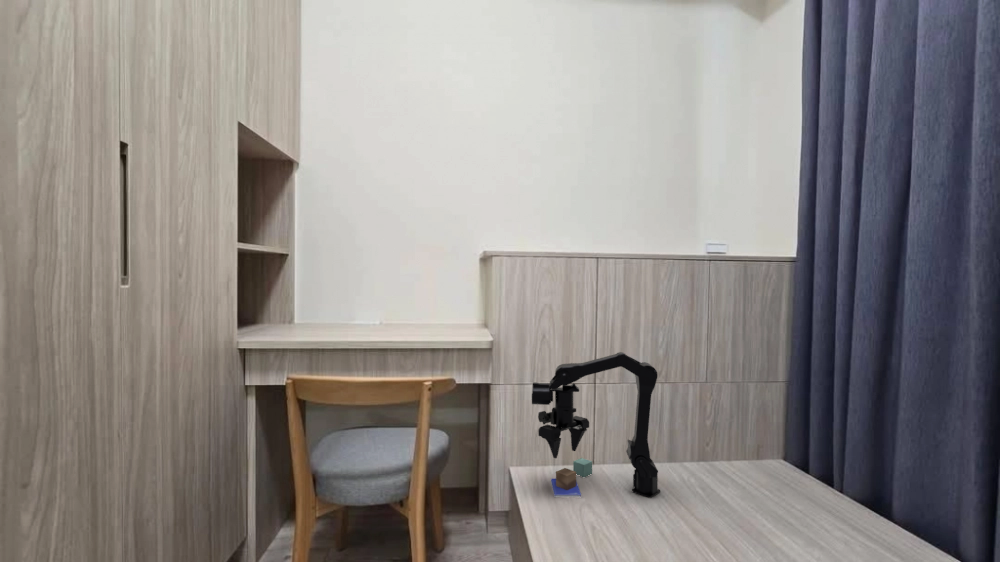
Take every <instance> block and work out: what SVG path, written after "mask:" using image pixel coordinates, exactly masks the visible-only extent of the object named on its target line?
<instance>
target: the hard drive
mask: <svg viewBox="0 0 1000 562" xmlns="http://www.w3.org/2000/svg"><path fill="white" fill-rule="evenodd" d="M550 483H551V487H552V492H554V493H553V496H554V498H555V497H579V498H580V497H581V498H582V493H581V491H580V488H579V485H578V482H577V480H576V486H575V487H573V488H571V489H569V490H565V489H562V488H560V487H557V486H556V477H555V478H550ZM579 498H578V499H579ZM581 498H580V499H581Z"/></svg>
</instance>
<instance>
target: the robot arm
mask: <svg viewBox="0 0 1000 562" xmlns="http://www.w3.org/2000/svg"><path fill="white" fill-rule="evenodd" d="M617 368H623V369H625V370H627V371H628V372H630V373H631V374H633V375H635V384H636V389H637V395H636V396H637V397H636V405H635V406H636V408H635V419H634V420H635V421H634V431H633V432H634V433H633V437H632V439H627V441H626V442H627V449H626V454H627V455H626V456H627V457H628V460H629V461H630V463H631V465H632V467H633V468H634V471H633V474H632V475H633V476H632V479H633V480H632V481H633V482H632V484H633V485H632V486H633V488H632V489H631V492H632V491H633V492H632V493H635V492H636V493H635V494H638V495H641V496H644V497H647V498H652V497H654V496H656V495H657V494H659V493H661V489H659V483H658V482H659V481H658V479H659V478H658V474H659V469H658V468H657V466H656V464H655V463H654V461H653V459H652V458H651V453H650V448H649V447H650V446H649V441H648V440H649V439H648V438H649V425H650V413H651V405H652V404H651V402H652V394H653V392H654V389H655V387H656V384H657V379H658V371H657V369H656V368H655V367H654V366H653V365H652V364H650V363H649V362H640V361H638V360H637V359H635V358H633V357H631V356H629V355H628V354H626V353H624V352H621V351H619V352H617V353H614V354H611V355H608V356H604V357H599V358H596V359H592V360H587V361H584V362H578V363H577V362H574V363H573V362H571V363H562V364H559V365H558V366H557V367H556V369H555V371H554V372H555V373H554V376H553V377H552V378H551V379H550V381H549V382H547V383H546V382H545V383H543V382H537V381H536V382H532V391H531V405H542V406H543V405H547V406H550V404H552V402H554V403H555V405H554V407H552V409H551V411H548V412H546V410H543V411H539V412H538V415H537V419H538V421H539V423H542V426H540V427H539V428H538V431H537V432H538V433H537V434H538V436H539V437H541V438H542V439H545V441H546V442H547V444H548V446H549V448H550V452H551V454H552V455H551V456H552V457H553V458H554V459H557V458H558V456H559V455H558V454H559V451H560V446H561V442H562V437H561V435H562V432H564V431H567V430H568V431H569V433H570V439H571V440H570V442H571V451H572V452H576V450H577V448H578V446H579V444H580V442H581V440H582V438H583V436H584V435H585V433H586V432H587V430H588V429H589V428H590V421H589V419H588V418H586V417H583V416H578V415H575V416H574V413H576V412H577V408H575V407H574V393H579V392H580V388H579V386H578V385H576V383H575V382H577V381H579V380H580V379H582V378H583V377H586V376H590V375H594V374H597V373H602V372H604V371H609V370H612V369H617ZM561 386H562V387H561ZM554 393H555V394H554ZM554 395H555V396H554ZM554 400H555V401H554ZM549 423H550V424H549Z"/></svg>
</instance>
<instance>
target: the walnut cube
mask: <svg viewBox="0 0 1000 562" xmlns="http://www.w3.org/2000/svg"><path fill="white" fill-rule="evenodd" d="M555 478H556V486H557V487H560V488H562V489H565V490H569V489H571V488H573V487H575V486H576V481H577V475H576V472H575V471H573V470H572V469H569V468H567V467H564V468H562V469H560V470H557V471H556V472H555Z"/></svg>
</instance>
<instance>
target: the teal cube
mask: <svg viewBox="0 0 1000 562" xmlns="http://www.w3.org/2000/svg"><path fill="white" fill-rule="evenodd" d="M572 464H573V465H572V466H573V467H572V468H573V470H572V471H575V472H576V474H577V475H580V476H582V477H586V476H588V475H590V474H592V475H593V461H591V460H589V459H586V458H583V457H581V458H578V459H576V460H573V462H572ZM577 475H576V476H577ZM590 476H591V475H590ZM582 477H581V478H582ZM588 477H589V476H588ZM586 478H587V477H586Z"/></svg>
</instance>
